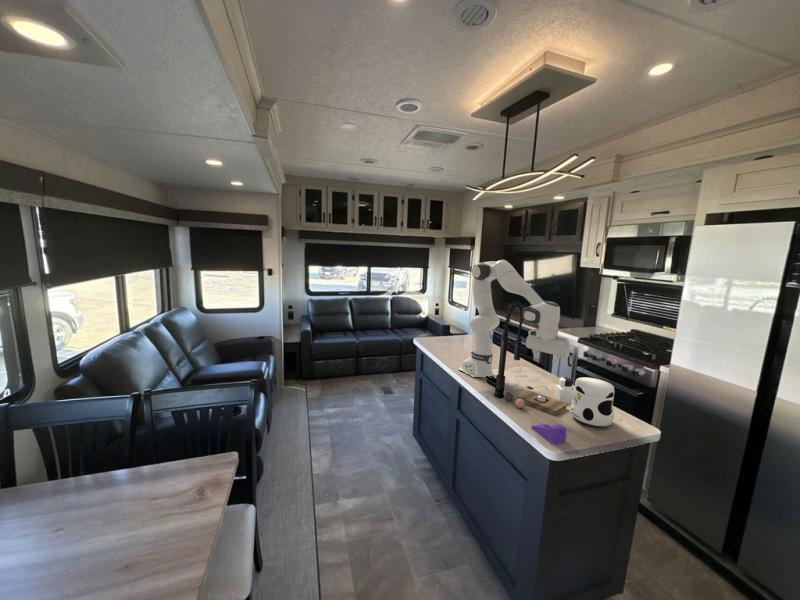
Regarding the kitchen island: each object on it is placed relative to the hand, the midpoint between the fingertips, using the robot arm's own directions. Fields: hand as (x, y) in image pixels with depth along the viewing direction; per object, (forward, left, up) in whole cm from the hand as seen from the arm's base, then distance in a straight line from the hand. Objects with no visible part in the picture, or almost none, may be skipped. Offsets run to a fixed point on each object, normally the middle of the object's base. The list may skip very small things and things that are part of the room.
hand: (545, 360), depth 160 cm
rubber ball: (-13, -9, -21) cm, 26 cm away
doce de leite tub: (+22, +3, -24) cm, 32 cm away
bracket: (+16, -25, -24) cm, 38 cm away
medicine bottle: (+5, +15, -24) cm, 28 cm away
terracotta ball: (-5, -12, -21) cm, 25 cm away
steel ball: (0, 0, -21) cm, 21 cm away
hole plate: (0, 0, -23) cm, 23 cm away
